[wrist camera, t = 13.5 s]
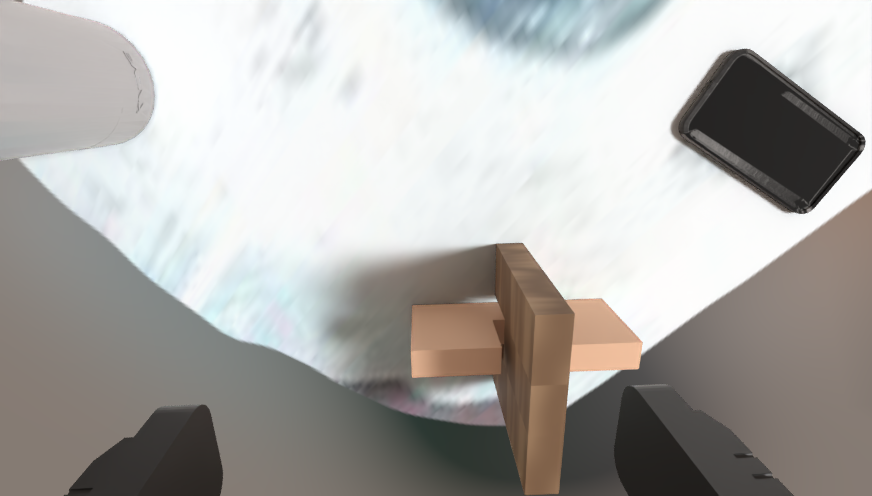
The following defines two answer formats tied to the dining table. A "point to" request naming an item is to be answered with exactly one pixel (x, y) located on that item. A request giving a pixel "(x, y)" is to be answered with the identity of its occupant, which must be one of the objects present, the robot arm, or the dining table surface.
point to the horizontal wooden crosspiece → (484, 333)
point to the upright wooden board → (533, 366)
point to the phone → (771, 132)
